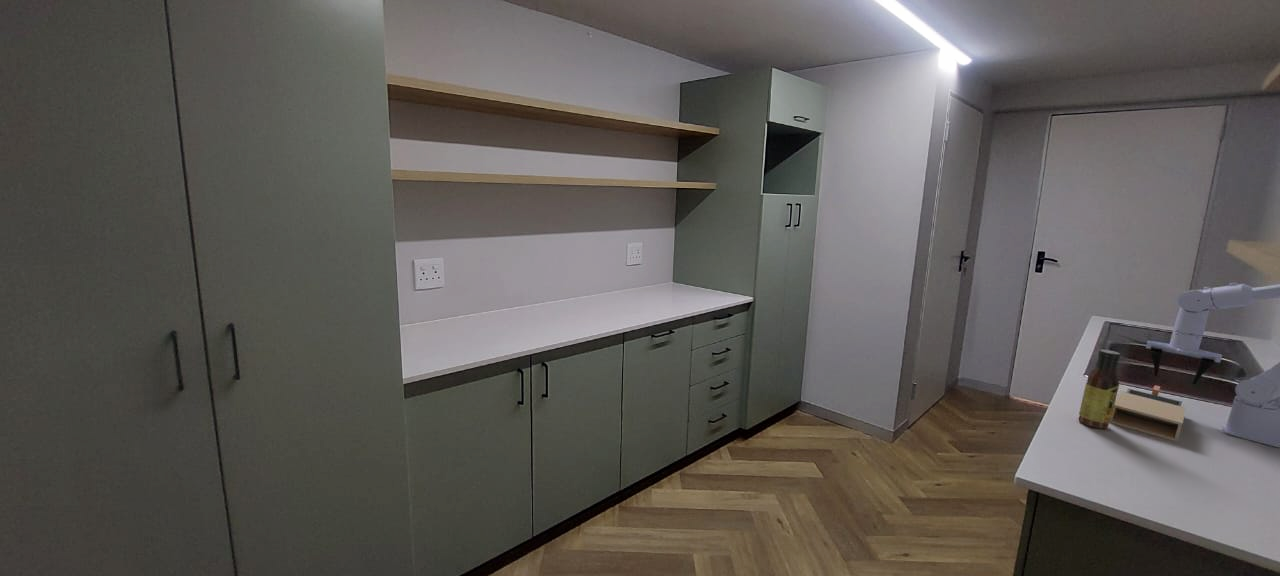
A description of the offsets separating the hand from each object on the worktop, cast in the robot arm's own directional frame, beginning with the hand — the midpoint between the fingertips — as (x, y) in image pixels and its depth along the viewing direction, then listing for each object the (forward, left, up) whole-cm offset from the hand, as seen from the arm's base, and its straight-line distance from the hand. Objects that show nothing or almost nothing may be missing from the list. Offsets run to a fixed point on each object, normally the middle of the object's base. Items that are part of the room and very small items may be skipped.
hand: (1174, 379), depth 147 cm
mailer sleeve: (+3, +18, -9) cm, 21 cm away
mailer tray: (+3, +6, -9) cm, 11 cm away
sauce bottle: (+12, +31, -10) cm, 35 cm away
